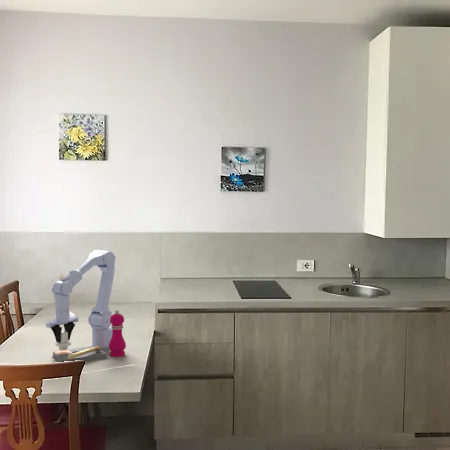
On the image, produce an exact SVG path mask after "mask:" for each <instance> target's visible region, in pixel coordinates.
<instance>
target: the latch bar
mask: <svg viewBox="0 0 450 450" xmlns="http://www.w3.org/2000/svg"><path fill="white" fill-rule="evenodd" d="M97 350H102V349H101V346H100V345H97V346H95V347H92V348H89V349H86V350H83V351H80V352H77V353H73V354H70V355H68V359H73V358H76V357H79V356H82V355H85V354H88V353H91V352H94V351H97Z"/></svg>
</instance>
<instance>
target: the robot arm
mask: <svg viewBox="0 0 450 450" xmlns="http://www.w3.org/2000/svg"><path fill="white" fill-rule="evenodd" d="M115 263H116V256H115V254H114V252H112V251H111V250H100V249H94V250H93V251H92V252H91V253H89V255H88V257H87V258H86V260H84V262H83V263H81V265H80V266H79V267H78V268H77V269H72V270H71V269H70V270H69V271H68V273H67V274H66V275H65V277H64V278H62V280H61V281H60V280H58V281H56V282H54V283H53V286H52V287H51V292H52V293H53V295H54V299H55V301H54V304H55V311H54V312H55V316H56V320H55V319H54V320H51V321H47V322H46V324H45V326H46V328H48V329H49V328H50V329H51V331H52V333H53V335H54V338H55V343H56V342H58V343H60V342H61V331H63V328H64V331H68V341H71V340H70V339H71V336H72V333H73V330H74V328H75V326H76V323H77V322H79V316H76V317H70V311H71V310H70V295H71V294H72V291H73V289H74V288H75V286H76V285H77V284H79V283H80V282H81V281H82V280H83V275H85V274H86V273H87V272H89V270H91V269H92V268H93V267H95V266H97V267H98V268H99V270H100V271H101V277H100V282H99V287H98V293H97V299H96V304H95V306H94V307H93V308H92V309H91V312H90V314H89V316H88V318H87V319H88V324H89V325H90V328H91V334H92V336H91V343H92V344H90V345H89V346H88V347H90V346H97V345H100V346H101V350H103V349H107V348H108V349H109V343H110V340H111V338H112V333H113V331H112V329H111V325H112V324H111V322H110V317H111V316H112V315H113V312H112V310H110V308H109V306H110V305H109V304H110V299H111V294H112V288H113V282H114V275H115V271H116V267H115V266H116V265H115ZM61 325H63V327H61Z"/></svg>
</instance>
